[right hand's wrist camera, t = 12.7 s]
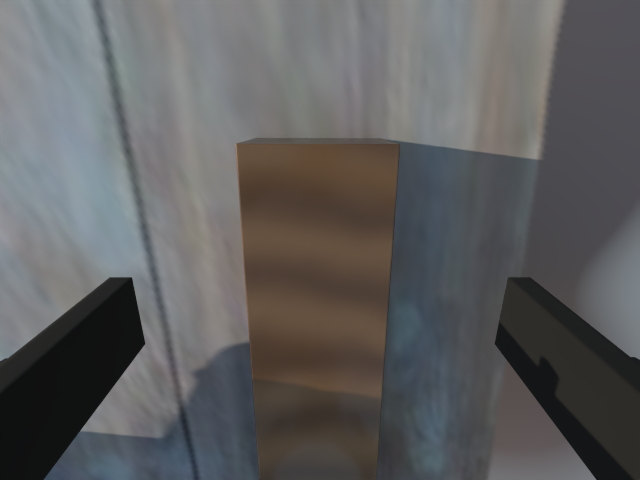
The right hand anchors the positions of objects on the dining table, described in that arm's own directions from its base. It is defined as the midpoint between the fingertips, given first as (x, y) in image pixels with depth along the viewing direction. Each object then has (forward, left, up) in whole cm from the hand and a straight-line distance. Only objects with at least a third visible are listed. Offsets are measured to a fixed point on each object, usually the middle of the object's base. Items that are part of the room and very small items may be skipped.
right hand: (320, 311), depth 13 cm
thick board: (+11, +18, -17) cm, 28 cm away
